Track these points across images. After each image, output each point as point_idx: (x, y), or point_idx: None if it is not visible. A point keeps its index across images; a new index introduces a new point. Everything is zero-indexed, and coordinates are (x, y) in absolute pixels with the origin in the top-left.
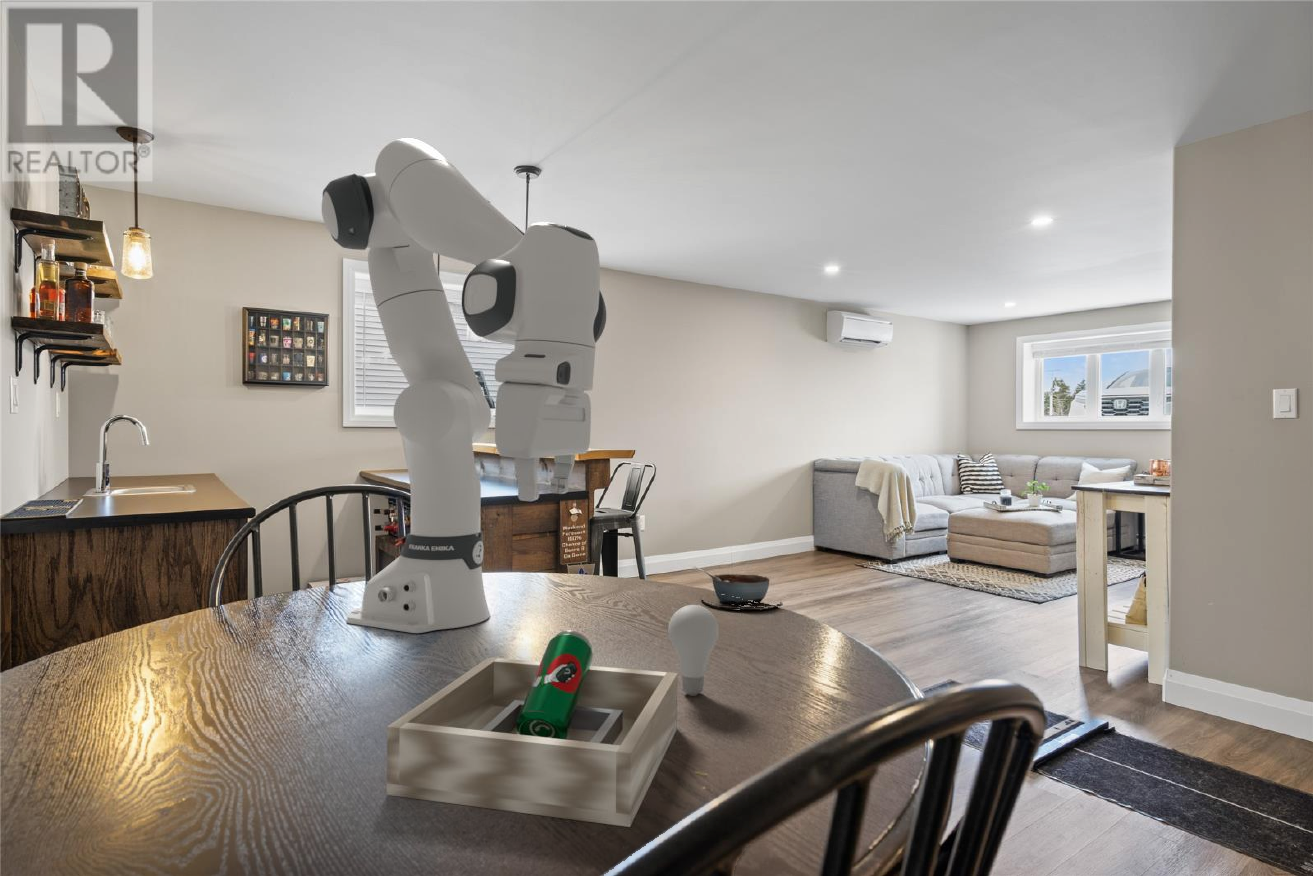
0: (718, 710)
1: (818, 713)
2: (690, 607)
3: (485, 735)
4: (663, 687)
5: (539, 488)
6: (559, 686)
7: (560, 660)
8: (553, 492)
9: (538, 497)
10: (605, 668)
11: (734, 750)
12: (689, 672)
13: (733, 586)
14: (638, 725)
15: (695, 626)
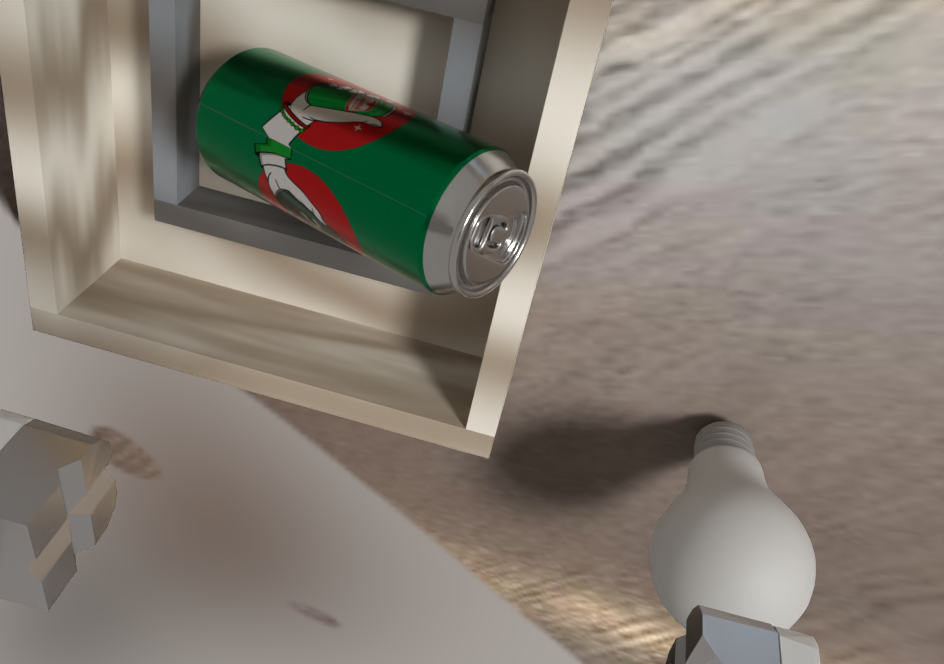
0: (621, 466)
1: (597, 619)
2: None
3: (3, 27)
4: (382, 417)
5: (68, 580)
6: (266, 193)
7: (327, 210)
8: (688, 616)
9: (104, 524)
10: (520, 295)
11: (414, 454)
12: (691, 468)
13: None
14: (154, 351)
15: (654, 579)
